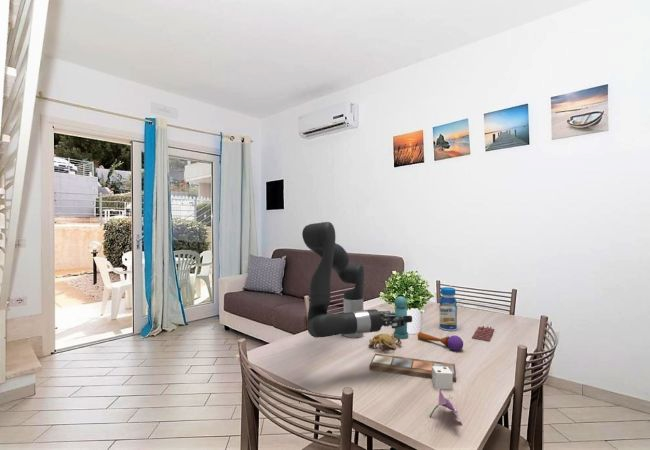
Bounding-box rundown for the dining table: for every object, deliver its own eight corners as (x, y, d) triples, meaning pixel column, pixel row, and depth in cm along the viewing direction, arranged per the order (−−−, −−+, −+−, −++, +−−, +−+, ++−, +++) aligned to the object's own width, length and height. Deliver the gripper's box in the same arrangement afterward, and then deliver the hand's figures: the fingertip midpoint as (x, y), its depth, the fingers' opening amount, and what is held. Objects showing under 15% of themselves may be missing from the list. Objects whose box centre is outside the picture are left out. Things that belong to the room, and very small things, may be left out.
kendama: (423, 328, 147) (466, 336, 132) (423, 342, 146) (465, 351, 131) (416, 329, 143) (458, 337, 128) (415, 342, 142) (458, 352, 127)
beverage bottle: (460, 329, 158) (460, 288, 158) (450, 332, 153) (450, 290, 154) (446, 324, 165) (445, 286, 165) (435, 327, 160) (435, 287, 161)
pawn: (392, 338, 113) (392, 297, 114) (394, 333, 118) (394, 294, 118) (407, 340, 112) (407, 298, 112) (409, 335, 116) (409, 295, 117)
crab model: (378, 338, 146) (378, 326, 146) (405, 344, 138) (405, 331, 138) (361, 349, 133) (361, 335, 133) (390, 355, 126) (390, 341, 126)
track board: (369, 369, 114) (369, 364, 114) (375, 357, 124) (375, 352, 124) (456, 382, 104) (456, 377, 104) (454, 368, 114) (454, 363, 114)
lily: (454, 442, 76) (472, 406, 77) (410, 408, 83) (427, 375, 83) (458, 431, 87) (475, 399, 87) (419, 401, 93) (434, 371, 93)
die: (436, 389, 100) (436, 372, 100) (432, 381, 105) (432, 365, 105) (452, 389, 99) (452, 373, 99) (447, 382, 104) (447, 366, 104)
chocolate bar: (494, 331, 157) (494, 327, 157) (489, 342, 141) (489, 338, 141) (478, 328, 161) (478, 324, 161) (471, 339, 145) (471, 335, 145)
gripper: (374, 315, 104) (419, 311, 109) (356, 305, 117) (397, 302, 123) (374, 339, 104) (419, 333, 109) (356, 326, 117) (397, 321, 123)
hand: (407, 316), depth 116 cm, fingers closed on pawn, 4 cm apart
